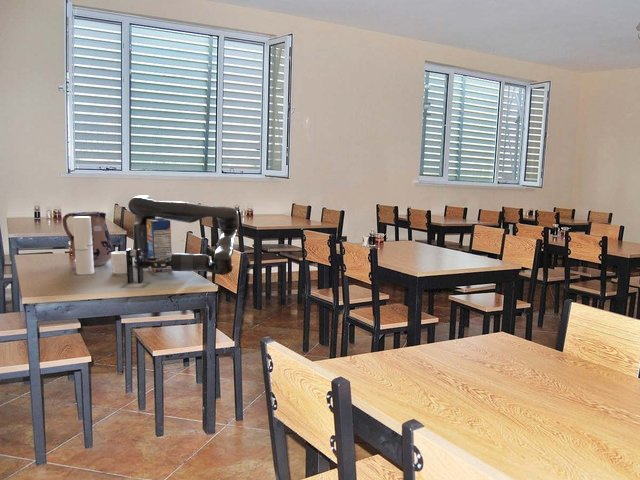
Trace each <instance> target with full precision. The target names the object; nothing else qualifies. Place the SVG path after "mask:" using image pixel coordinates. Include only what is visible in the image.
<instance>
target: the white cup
mask: <svg viewBox="0 0 640 480" xmlns="http://www.w3.org/2000/svg"><path fill="white" fill-rule="evenodd" d="M110 260H111V261H110V262H111V269H112V273H113V274H117V275H118V274H119V275H120V274H122V275H123V274H127V262H126V250H124V251H123V250H122V251H121V250H120V251H113V252H112V253H111V259H110Z"/></svg>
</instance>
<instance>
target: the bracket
mask: <svg viewBox="0 0 640 480" xmlns="http://www.w3.org/2000/svg"><path fill="white" fill-rule="evenodd" d="M131 250H133V248H127V249H126V250H125V251H126V262H127V273H126V278H127V284H131V283H133V282H134V279H135V278H134V261H133V257H131V256H130V251H131ZM136 257H137V267H136V275H137V283H138V284H141V283H143V282H144V279H145V278H144V267H143V259H142V249H138V250H136Z"/></svg>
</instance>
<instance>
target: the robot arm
mask: <svg viewBox="0 0 640 480" xmlns="http://www.w3.org/2000/svg"><path fill="white" fill-rule="evenodd" d="M127 208H128V210H129V212H130V213H131V214H133V215H134V216H136V218H135V221H134V223H133V224H132V230H133V231H132V232H133V233H132V234H133V250H138V249H142V259H143V260H152V261H143V268H149V267H151V268H167V267H168V266H171V269H172V272H195V271H196V272H203V271H204V272H207V273H212V274H216V275H221V276H225V275H228V274H230V273H232V271H233V269H234V267H233V266H234V265H233V259H232V256H233V254H234V249H235V248H234V247H235V238H236V235H237V232H238V231H239V227H240V220H239V219H240V218H239V212H238V210H237V209H236V208H234V207H231V206H222V205H221V206H219V205H206V204H199V203H198V204H197V203H192V202H185V201H174V200H173V201H172V200H171V201H169V200H166V201H160V200H154V199H153V198H152V197H151V196H149V195H137V196H134V197H133V198H131V199H130V200H129V201H128V205H127ZM156 218H164V219H167V220H170V221H173V222H174V221H175V222H181V223H187V224H188V223H189V224H192V223H195V222H198V221H200V220H202V219H204V218H217V222H218V227H219V231H220V236H219V238H218V240H217V244H216V250H215V252H214V254H213V260H214V261H213V260H212V259H211V258H210V256H209V255H208V254H207V253H206V254H204V253H201V254H200V253H172V256H171V257H158V258H148V244H147V222H146V219H156ZM134 260H137V258H135V257H134ZM154 263H156V265H154ZM134 267H136V268H137V264H134Z"/></svg>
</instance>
